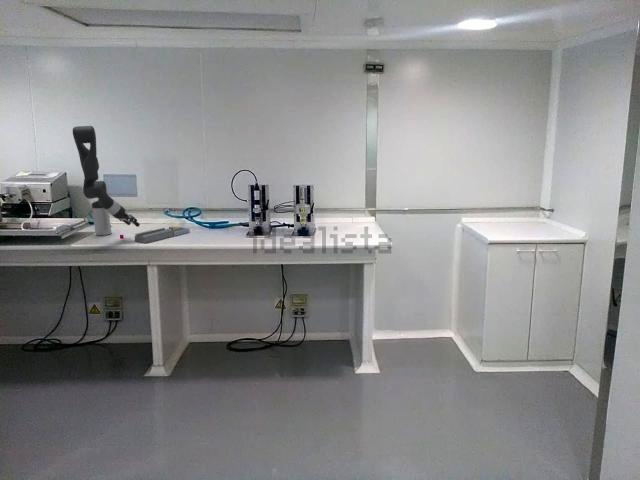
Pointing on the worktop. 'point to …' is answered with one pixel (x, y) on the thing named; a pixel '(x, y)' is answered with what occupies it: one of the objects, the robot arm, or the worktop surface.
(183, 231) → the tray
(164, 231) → the slotted plate
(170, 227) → the chip
